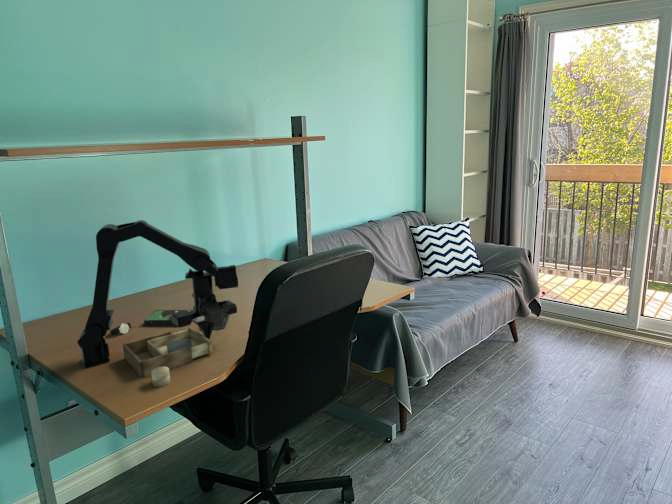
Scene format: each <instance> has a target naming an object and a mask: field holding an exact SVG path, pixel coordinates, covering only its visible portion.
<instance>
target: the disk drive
mask: <svg viewBox="0 0 672 504" xmlns="http://www.w3.org/2000/svg"><path fill="white" fill-rule="evenodd" d="M182 311H185V312H187V313H188V314H189V313H193V312H195V310H193V309H156V310H154V311H153V312H152V313H150V314H149V316H148V317H146V318H145V319H143V325H144V327H177V326H176V325H175V324H174V323H172V315H173V313H177V312H182Z"/></svg>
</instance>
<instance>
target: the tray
mask: <svg viewBox="0 0 672 504" xmlns="http://www.w3.org/2000/svg"><path fill="white" fill-rule="evenodd" d="M180 339H187V340H190V341H191V342H192V347H191V351H192V359H196V358H198V357H202V356H205V355H208V354H209V355H212V354H213V346H212V340H209V339H208V338H206V337H205V336H204V335H203V334H202V333H200V332H199V331H197V330H196V329H195V328H194V327H192V326H188V327H187V329H186V330H181V331H178V332H175V333H171V334H170V335H167V336H163V337H159V338H156V339H152V340H148V341H147V347H148V351H149V352H150V353H151V354H152V355H153V356H154V357H158V356H161V355H164V354H168V352H167V344H168V343H170V342H172V341H175V340H180Z"/></svg>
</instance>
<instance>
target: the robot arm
mask: <svg viewBox="0 0 672 504" xmlns="http://www.w3.org/2000/svg"><path fill="white" fill-rule="evenodd" d="M138 237H141V238H143V239H144V240H147V241H149V242H150V243H152V244H155V245H157V246H158V247H160V248H162V249H164V250H166V251H168V252H169V253H172V254H173V255H176V256H177V257H179V258H180V259H181V260H182V261H183V262H184V263H185V264H187V265H188V266H189V267H190V268H189V269H188V271H187V272H186V273H185V275H184V276H185V279H186V280H188V279H189V280H190V279H191V282H192V291H193V293H191V297H192V298H193V302H194V305H193V309H192V310H195V312H193V313H189V314H188V313H187V312H185V311H182V312H177V313H173V315H172V323H174V324H175V325H176V326H175V327H177V328H183V327H187V326H188V327H189V326H190V325H191V324H192V323H194V324H196V325H197V326H198V328H199V330H200V331H201V334H202V335H203V336H205V337H206V338H208V339H209V340H210V339H211V335H212V332H213V330H212V329H213V326H214V324H215V322H216V321H217V320H221V319H222V318H223V314H226V313H227V314H229V315H230V316H231V315H234V314H237V313H238V305H237V304H236V303H234V302H232V301H230V300H229V299H227V300H222V301H217V297H216V294H215V293H214V287H213V285H214V286H215V287H217V289H219V290H226V289H236V288H239V278H238V274H237V273H238V272H237V267H236V265H235V264H231V265H228V266H227V265H225V266H217V264H216V263H215V262H214V261H213V260H212V258H211V256H210V252H209V251H208V250H207V249H206V248H204V247H200V246H198V245H194V244H191V243H186V242H183V241H182V240H179V239H178V238H176V237H174V236H172V235H170V234H168V233H166V232H164V231H163V230H161V229H159V228H157V227H155V226H154V225H152V224H149V222H147V221H146V220H143V219H139V220H136V221H133V222H128V223H122V224H118V225H116V224H112V223H108V224H105V225H103V226H101V228H100V229H99V230H98V231H97V233H96V236H95V239H96V240H95V242H96V243H95V244H96V251H97V258H98V261H97V269H96V276H95V283H94V284H95V286H94V292H93V298H92V299H93V301H92V306H91V309H90V311H89V315H88V317H87V320H86V322H85V323H86V324H85V326H84V329H83V330H82V332H81V334H80V336H79V338H78V339H77V342H76V343H77V344H78V346H79V349H80V356H81V359H80V362H81V363H82V364H83V366H84V367H85V368H91V367H93V366H94V367H95V366H97V365H101V364H105V363H108V362H110V361H111V358H110V357H111V355H110V349H109V343H107V341H106V339H105V337H106V334H107V333H108V331H111V327H112V325H113V323H114V321H113V315H114V312H115V309H110V307H109V300H110V299H109V298H110V290H111V283H112V275H113V269H114V268H113V267H114V261H115V256H116V253H117V252H118V248H119V245H120V243H122V242H125V241H128V240H131V239H134V238H138ZM213 278H214V279H213ZM213 282H214V284H213Z"/></svg>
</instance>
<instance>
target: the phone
mask: <svg viewBox="0 0 672 504" xmlns="http://www.w3.org/2000/svg"><path fill="white" fill-rule="evenodd" d="M230 317H231V314H230V315H229V314H227V313H226V314H223V318H222V319H221V320H217V321H216V322H215V324H214V326H213V329H212V331H217V330H218V331H219V330H224V329H225V328H226V326H227V324H228V321H229V319H230Z"/></svg>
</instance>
